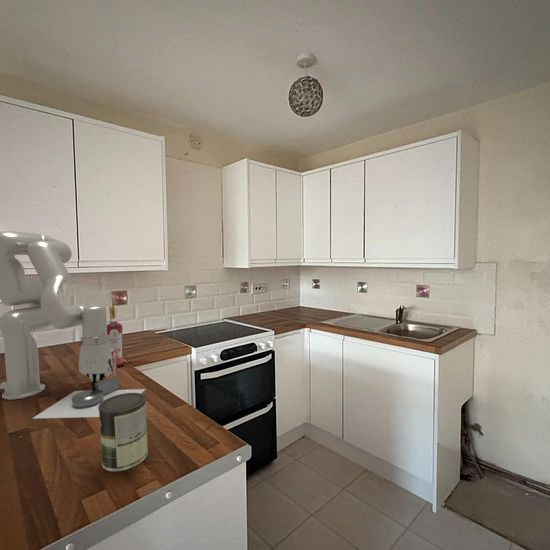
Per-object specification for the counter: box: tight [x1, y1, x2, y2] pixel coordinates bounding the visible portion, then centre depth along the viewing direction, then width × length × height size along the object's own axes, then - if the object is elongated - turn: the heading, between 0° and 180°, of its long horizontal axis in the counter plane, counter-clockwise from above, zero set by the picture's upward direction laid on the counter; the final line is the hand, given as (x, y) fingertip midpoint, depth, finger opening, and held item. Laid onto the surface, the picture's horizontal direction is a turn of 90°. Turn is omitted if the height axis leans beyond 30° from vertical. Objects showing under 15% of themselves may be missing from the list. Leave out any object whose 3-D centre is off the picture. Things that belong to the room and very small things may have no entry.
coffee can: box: [98, 393, 149, 473], centre depth 77 cm, size 10×10×14 cm
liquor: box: [107, 305, 125, 368], centre depth 146 cm, size 7×7×28 cm
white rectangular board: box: [31, 388, 147, 420], centre depth 105 cm, size 26×20×2 cm
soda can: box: [104, 349, 118, 378], centre depth 130 cm, size 7×7×12 cm
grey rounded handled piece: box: [72, 373, 119, 408], centre depth 108 cm, size 16×9×5 cm, turn 159°
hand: (97, 391), depth 113 cm, fingers closed
